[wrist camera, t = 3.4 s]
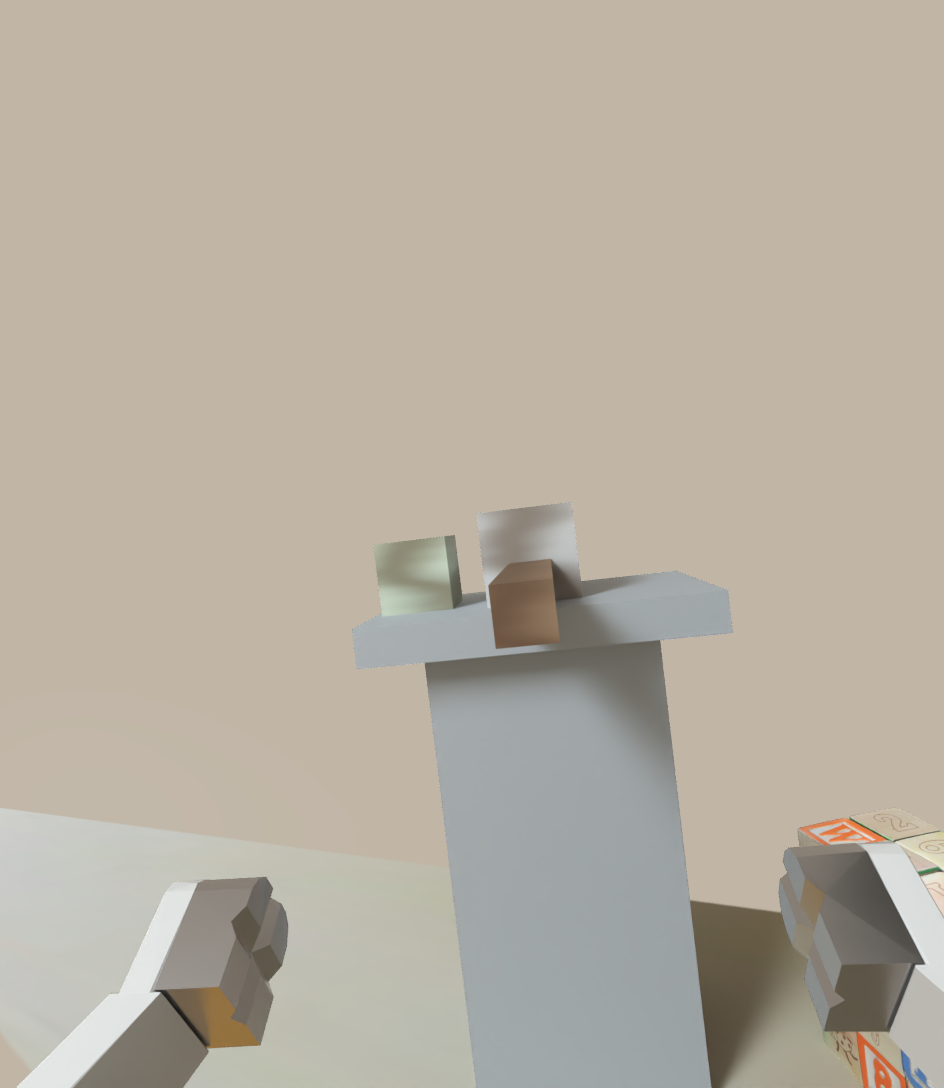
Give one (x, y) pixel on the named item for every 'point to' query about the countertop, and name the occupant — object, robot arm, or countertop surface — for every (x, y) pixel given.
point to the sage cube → (418, 575)
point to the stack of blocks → (940, 865)
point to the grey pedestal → (566, 832)
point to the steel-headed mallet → (528, 571)
